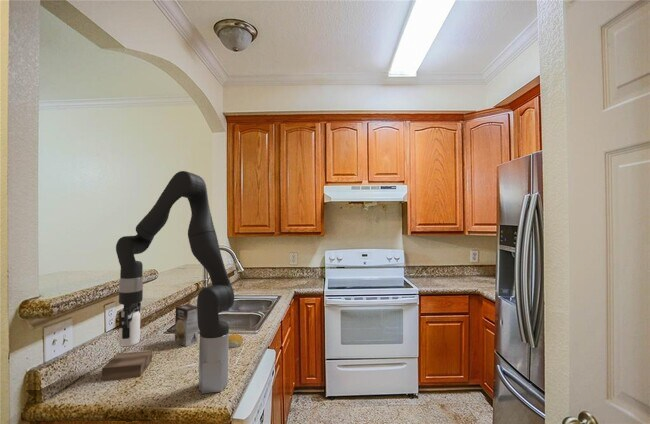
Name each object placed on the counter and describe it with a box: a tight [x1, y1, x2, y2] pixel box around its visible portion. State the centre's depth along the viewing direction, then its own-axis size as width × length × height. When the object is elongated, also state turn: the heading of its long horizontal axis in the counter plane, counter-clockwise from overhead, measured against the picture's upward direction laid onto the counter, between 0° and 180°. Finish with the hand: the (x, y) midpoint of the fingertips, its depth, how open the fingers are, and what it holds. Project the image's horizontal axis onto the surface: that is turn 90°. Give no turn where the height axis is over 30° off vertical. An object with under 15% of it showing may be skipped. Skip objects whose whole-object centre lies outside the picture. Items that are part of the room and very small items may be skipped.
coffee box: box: [174, 303, 199, 347], centre depth 141 cm, size 9×6×16 cm
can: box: [118, 309, 141, 348], centre depth 114 cm, size 6×6×12 cm
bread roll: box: [228, 333, 244, 349], centre depth 139 cm, size 8×9×4 cm
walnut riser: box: [101, 350, 153, 381], centre depth 114 cm, size 12×12×4 cm
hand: (129, 334), depth 114 cm, fingers closed on can, 6 cm apart
